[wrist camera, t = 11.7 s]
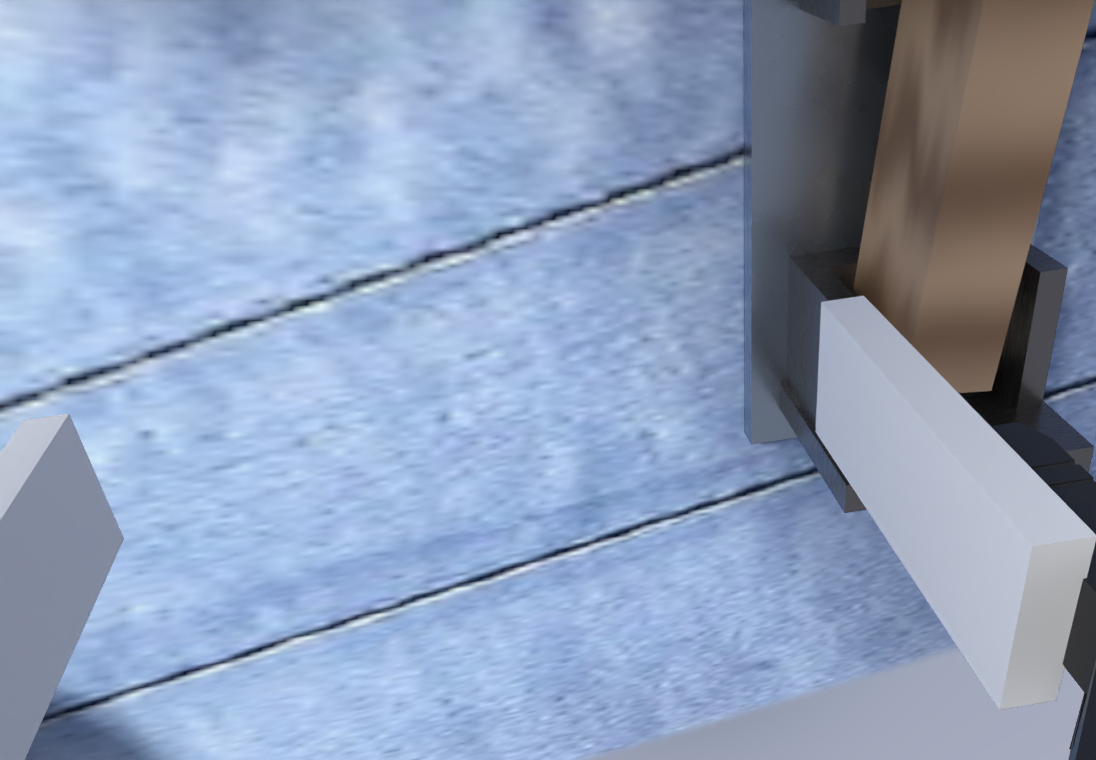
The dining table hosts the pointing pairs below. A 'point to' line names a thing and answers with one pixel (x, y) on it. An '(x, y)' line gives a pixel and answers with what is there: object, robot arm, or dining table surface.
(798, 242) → the block fixture
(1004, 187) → the rail
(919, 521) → the robot arm
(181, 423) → the dining table surface
